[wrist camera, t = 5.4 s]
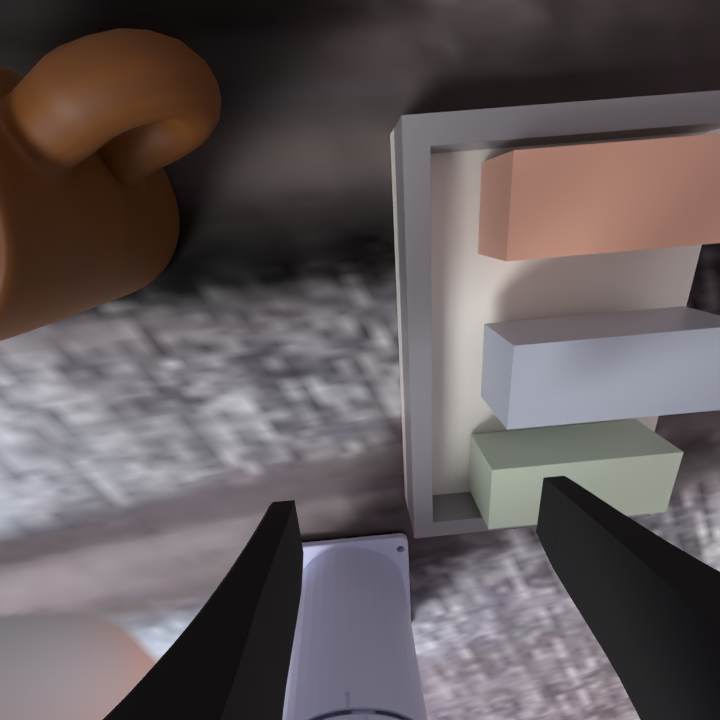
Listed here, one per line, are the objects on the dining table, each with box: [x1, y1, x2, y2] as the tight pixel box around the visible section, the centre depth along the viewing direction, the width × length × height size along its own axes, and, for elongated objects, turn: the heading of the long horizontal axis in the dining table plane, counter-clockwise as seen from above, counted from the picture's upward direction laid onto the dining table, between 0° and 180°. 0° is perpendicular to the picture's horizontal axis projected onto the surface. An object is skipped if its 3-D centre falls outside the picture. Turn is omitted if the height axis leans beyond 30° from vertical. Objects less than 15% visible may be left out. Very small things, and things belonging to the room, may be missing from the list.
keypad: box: [390, 90, 720, 538], centre depth 18 cm, size 20×14×3 cm
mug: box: [0, 28, 222, 341], centre depth 12 cm, size 12×8×9 cm, turn 111°
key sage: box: [469, 419, 683, 529], centre depth 19 cm, size 4×9×3 cm, turn 94°
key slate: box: [481, 306, 720, 430], centre depth 16 cm, size 4×9×3 cm, turn 94°
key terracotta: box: [478, 134, 720, 261], centre depth 14 cm, size 4×9×3 cm, turn 94°
